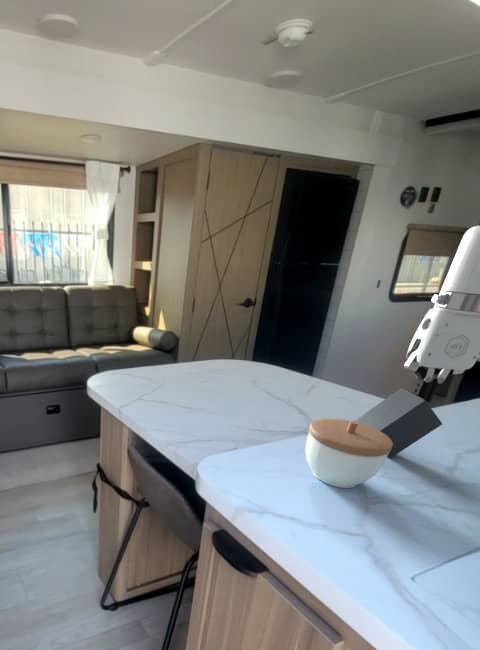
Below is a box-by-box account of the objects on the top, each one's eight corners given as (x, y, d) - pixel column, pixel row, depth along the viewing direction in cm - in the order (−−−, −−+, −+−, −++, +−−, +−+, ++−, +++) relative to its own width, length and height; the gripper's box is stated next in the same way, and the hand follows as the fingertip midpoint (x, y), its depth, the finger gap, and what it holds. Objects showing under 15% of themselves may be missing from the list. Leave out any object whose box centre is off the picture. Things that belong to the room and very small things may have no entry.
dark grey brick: (417, 410, 84) (401, 387, 82) (442, 424, 78) (425, 400, 76) (369, 443, 88) (352, 422, 86) (389, 459, 82) (371, 436, 80)
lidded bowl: (391, 490, 71) (416, 434, 66) (337, 502, 67) (360, 443, 62) (331, 456, 81) (349, 405, 77) (282, 464, 77) (297, 411, 72)
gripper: (436, 303, 68) (394, 404, 76) (523, 310, 68) (472, 409, 76) (406, 297, 75) (371, 390, 83) (486, 303, 75) (443, 395, 83)
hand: (419, 399), depth 80 cm, fingers closed
